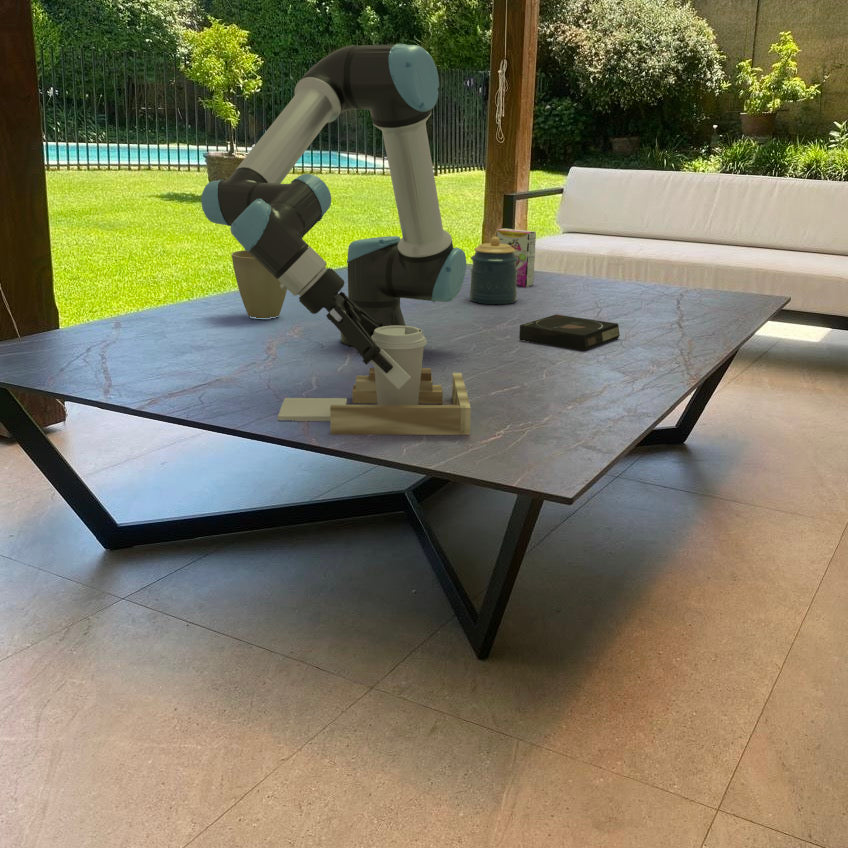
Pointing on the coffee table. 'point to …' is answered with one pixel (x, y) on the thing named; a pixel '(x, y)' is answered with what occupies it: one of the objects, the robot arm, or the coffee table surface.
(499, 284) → the canister
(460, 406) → the frame
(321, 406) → the ceramic tile
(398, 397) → the coffee cup
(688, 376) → the coffee table surface
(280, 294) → the plant pot
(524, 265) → the candy bar box
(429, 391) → the offcut stack
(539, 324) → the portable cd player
